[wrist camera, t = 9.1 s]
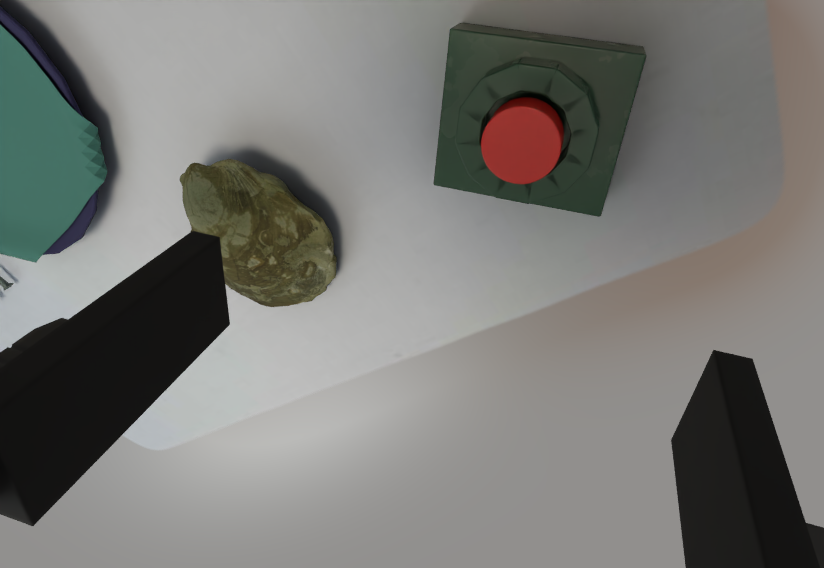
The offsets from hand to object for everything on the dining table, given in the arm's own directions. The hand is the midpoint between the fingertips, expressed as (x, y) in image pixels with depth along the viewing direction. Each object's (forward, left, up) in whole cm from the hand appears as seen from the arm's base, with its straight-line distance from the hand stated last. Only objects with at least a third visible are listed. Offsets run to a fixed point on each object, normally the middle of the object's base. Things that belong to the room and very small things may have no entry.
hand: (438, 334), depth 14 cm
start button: (0, 0, -16) cm, 16 cm away
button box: (0, 0, -20) cm, 20 cm away
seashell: (+16, +10, -20) cm, 28 cm away
